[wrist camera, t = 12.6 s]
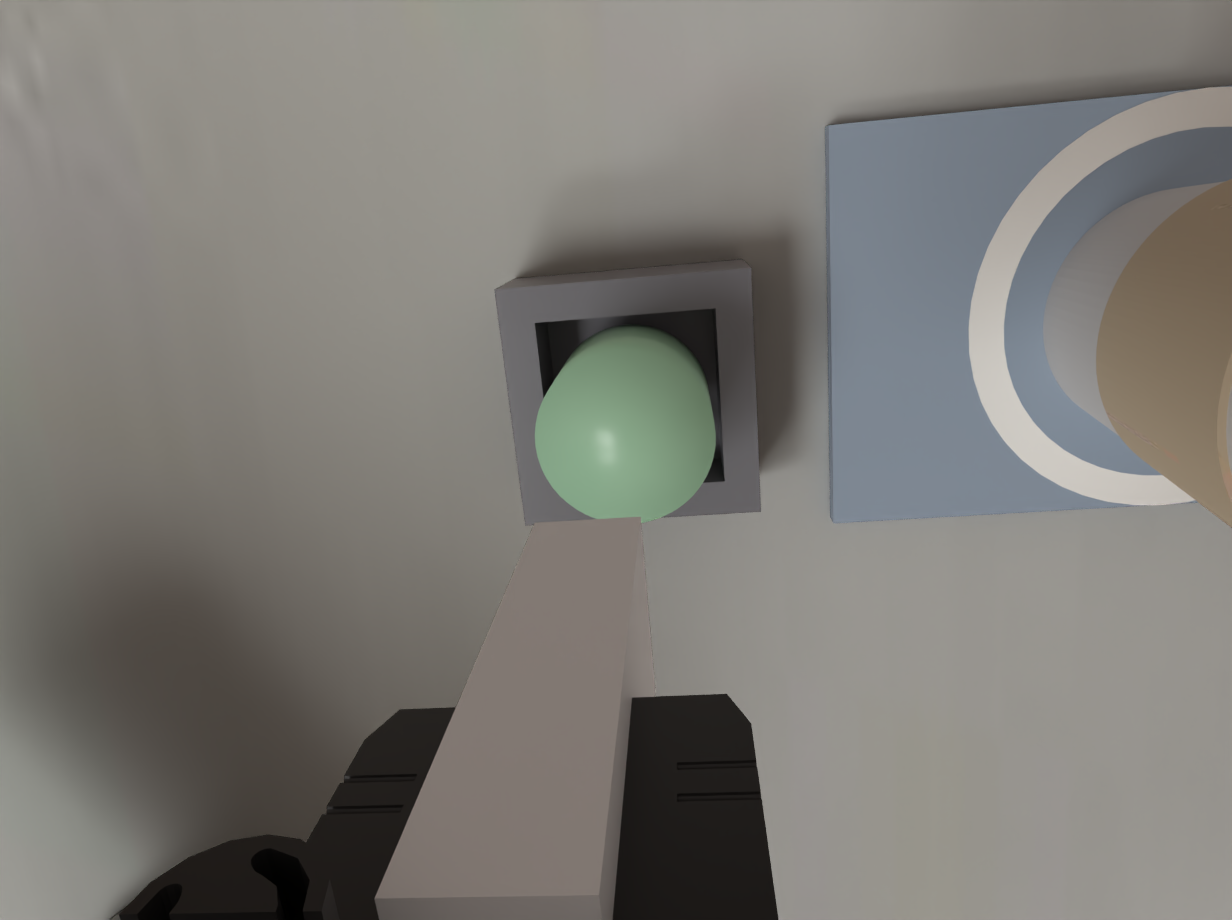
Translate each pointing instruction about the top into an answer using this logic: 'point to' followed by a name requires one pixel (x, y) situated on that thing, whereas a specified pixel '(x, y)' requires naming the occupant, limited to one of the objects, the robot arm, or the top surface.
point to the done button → (627, 425)
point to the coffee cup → (1154, 334)
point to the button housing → (653, 296)
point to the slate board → (985, 299)
